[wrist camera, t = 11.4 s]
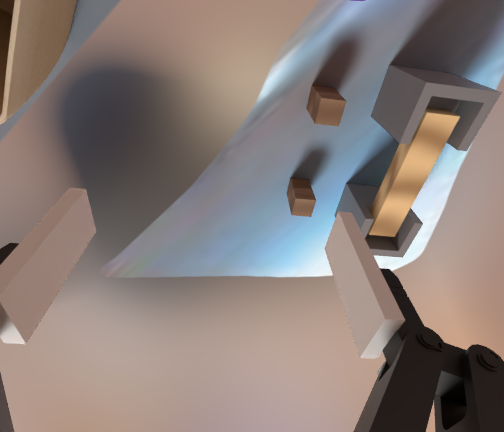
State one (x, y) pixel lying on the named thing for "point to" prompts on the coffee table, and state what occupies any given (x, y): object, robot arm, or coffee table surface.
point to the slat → (410, 171)
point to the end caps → (403, 128)
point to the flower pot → (30, 47)
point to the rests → (322, 112)
